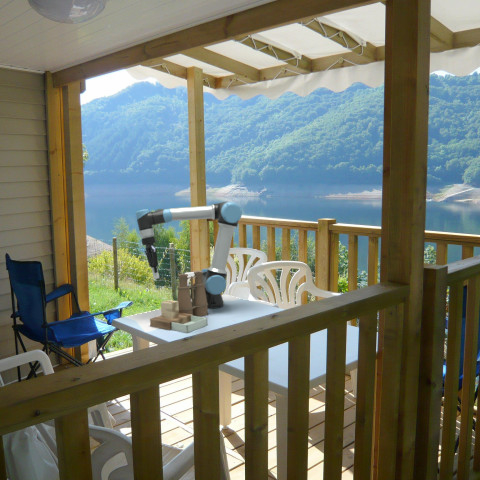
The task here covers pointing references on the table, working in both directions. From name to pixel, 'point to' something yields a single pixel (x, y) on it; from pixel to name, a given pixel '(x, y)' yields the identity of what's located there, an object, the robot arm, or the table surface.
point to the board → (169, 321)
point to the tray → (190, 324)
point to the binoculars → (192, 295)
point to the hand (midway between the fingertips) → (156, 278)
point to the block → (169, 309)
